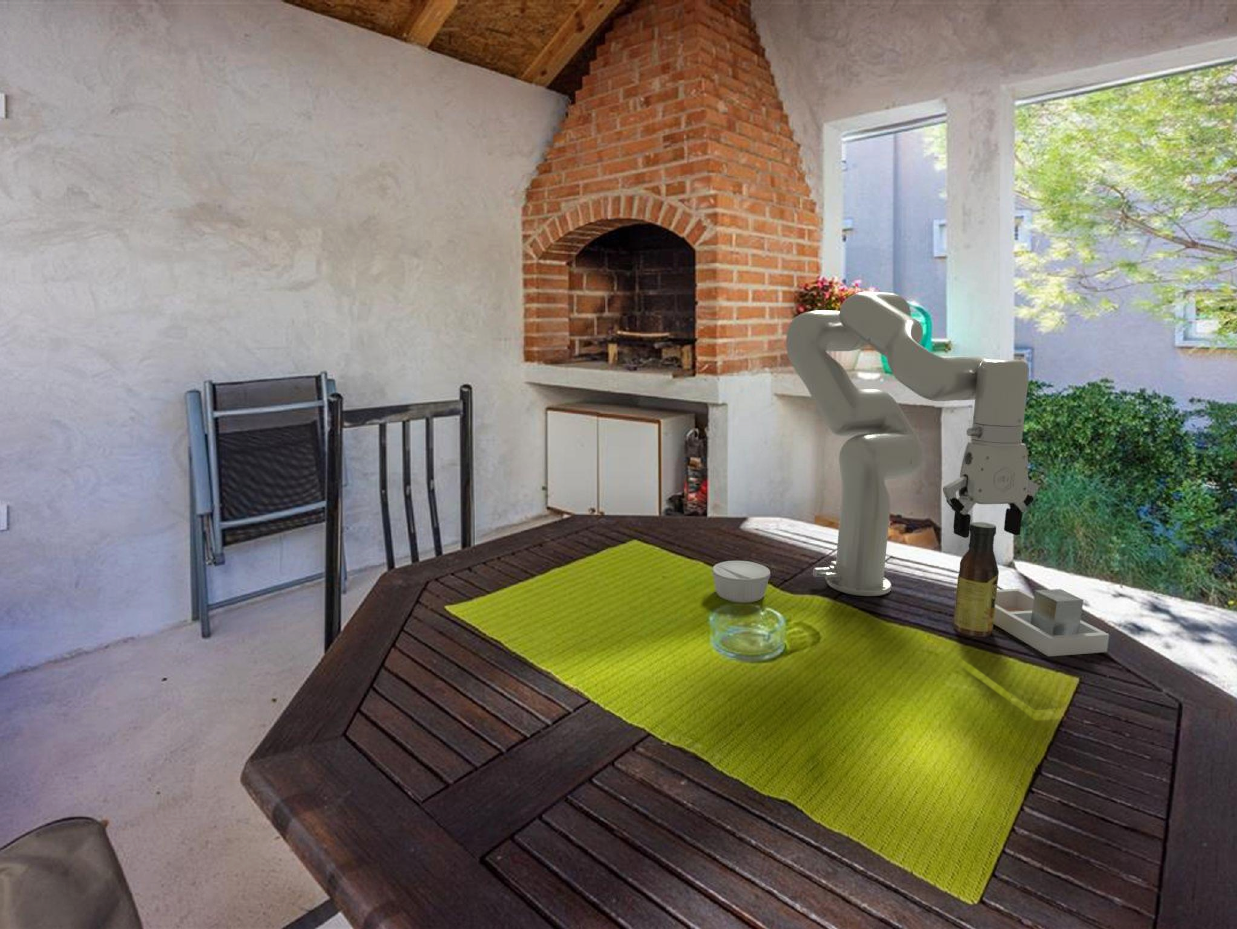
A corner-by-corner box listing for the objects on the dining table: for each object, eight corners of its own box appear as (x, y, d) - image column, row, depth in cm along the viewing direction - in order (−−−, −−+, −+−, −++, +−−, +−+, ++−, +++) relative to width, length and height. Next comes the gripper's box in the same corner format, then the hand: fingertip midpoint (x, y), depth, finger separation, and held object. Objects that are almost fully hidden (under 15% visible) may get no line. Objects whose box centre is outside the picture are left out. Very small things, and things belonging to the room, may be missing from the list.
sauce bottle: (995, 644, 127) (1010, 531, 123) (956, 640, 128) (969, 529, 124) (985, 628, 133) (998, 521, 129) (948, 625, 134) (960, 518, 130)
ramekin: (704, 599, 144) (705, 574, 143) (719, 581, 154) (720, 557, 153) (762, 609, 140) (763, 582, 139) (773, 589, 150) (775, 564, 149)
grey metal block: (1050, 646, 124) (1057, 601, 122) (1029, 634, 128) (1035, 590, 127) (1076, 644, 125) (1083, 599, 123) (1054, 632, 129) (1060, 589, 128)
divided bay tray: (1105, 657, 122) (1109, 634, 122) (1047, 661, 120) (1050, 638, 120) (1016, 608, 143) (1018, 588, 142) (964, 611, 141) (967, 591, 140)
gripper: (964, 438, 118) (954, 542, 121) (1059, 437, 121) (1047, 538, 124) (935, 432, 125) (927, 530, 128) (1026, 430, 128) (1015, 526, 132)
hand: (986, 534), depth 126 cm, fingers open, 9 cm apart
